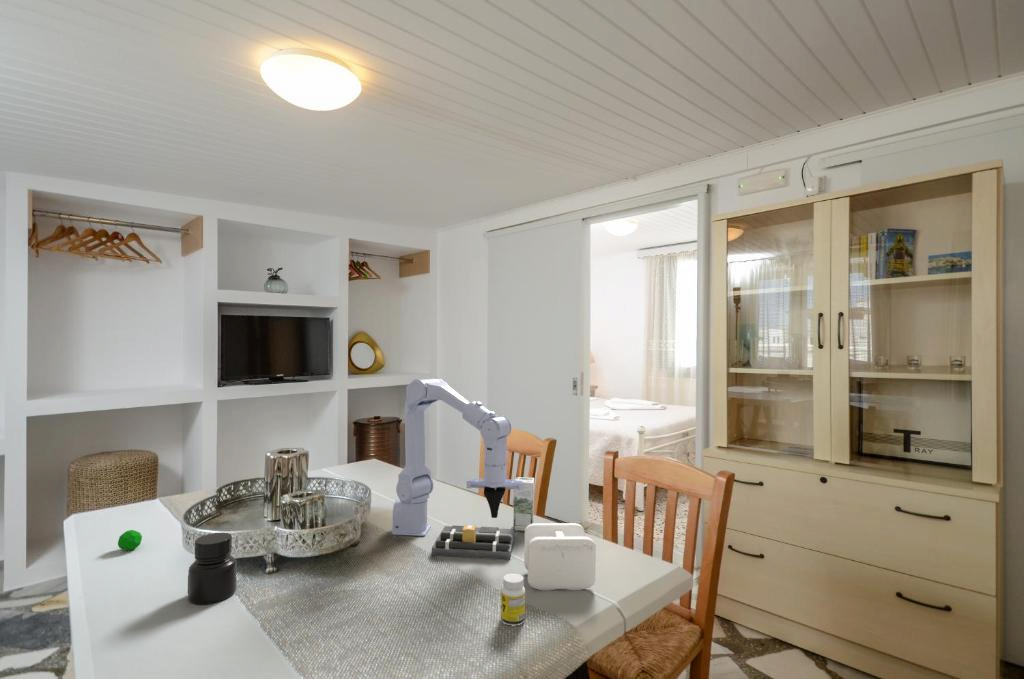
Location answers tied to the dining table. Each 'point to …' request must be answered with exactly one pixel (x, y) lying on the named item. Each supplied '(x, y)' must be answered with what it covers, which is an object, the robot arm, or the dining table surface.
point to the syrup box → (523, 504)
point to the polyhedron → (129, 540)
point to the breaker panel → (475, 552)
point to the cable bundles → (471, 545)
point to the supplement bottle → (513, 599)
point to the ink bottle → (212, 569)
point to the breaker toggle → (469, 534)
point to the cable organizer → (559, 556)
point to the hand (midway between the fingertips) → (494, 516)
